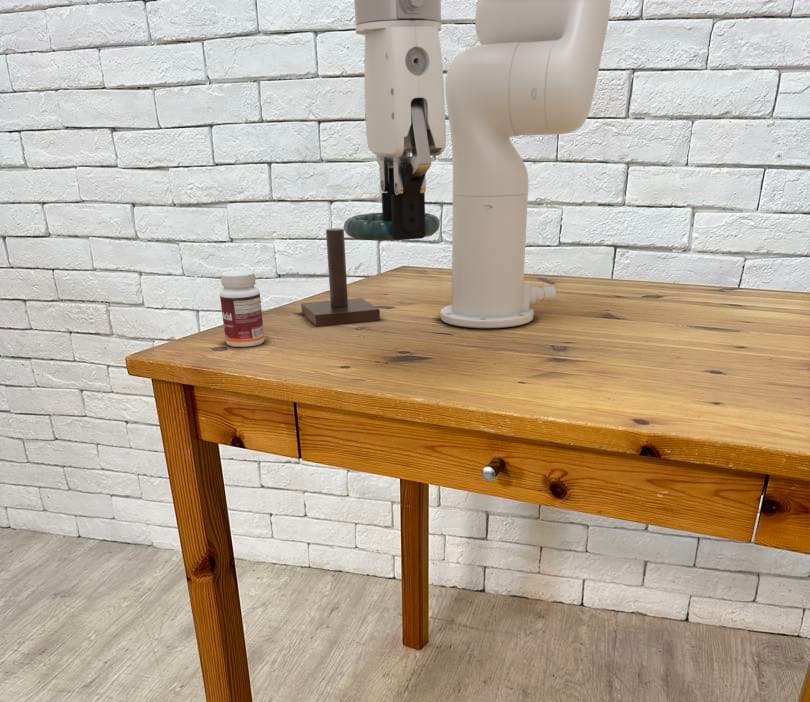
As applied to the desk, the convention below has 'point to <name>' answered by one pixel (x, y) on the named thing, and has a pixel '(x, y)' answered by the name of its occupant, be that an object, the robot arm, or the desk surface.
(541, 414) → the desk surface
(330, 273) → the post
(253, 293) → the pill bottle
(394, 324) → the desk surface
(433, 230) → the ring
